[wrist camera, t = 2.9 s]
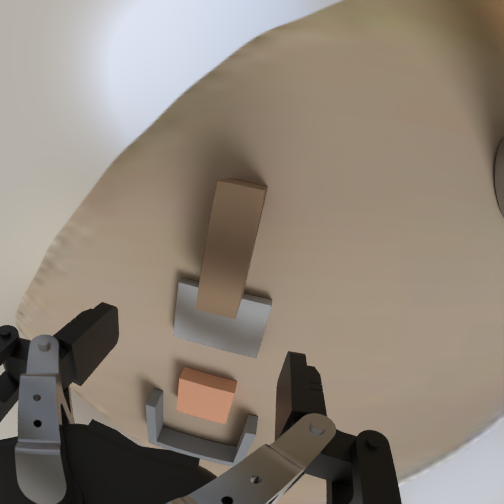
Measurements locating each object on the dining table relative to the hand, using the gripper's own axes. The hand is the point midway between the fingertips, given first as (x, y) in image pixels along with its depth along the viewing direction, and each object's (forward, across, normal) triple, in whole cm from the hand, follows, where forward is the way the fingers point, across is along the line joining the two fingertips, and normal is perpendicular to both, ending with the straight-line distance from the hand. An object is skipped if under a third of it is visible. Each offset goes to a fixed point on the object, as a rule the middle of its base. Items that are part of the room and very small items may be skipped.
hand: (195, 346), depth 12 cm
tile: (+10, 0, +13) cm, 16 cm away
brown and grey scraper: (+9, 0, 0) cm, 9 cm away
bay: (+10, 0, +18) cm, 21 cm away
